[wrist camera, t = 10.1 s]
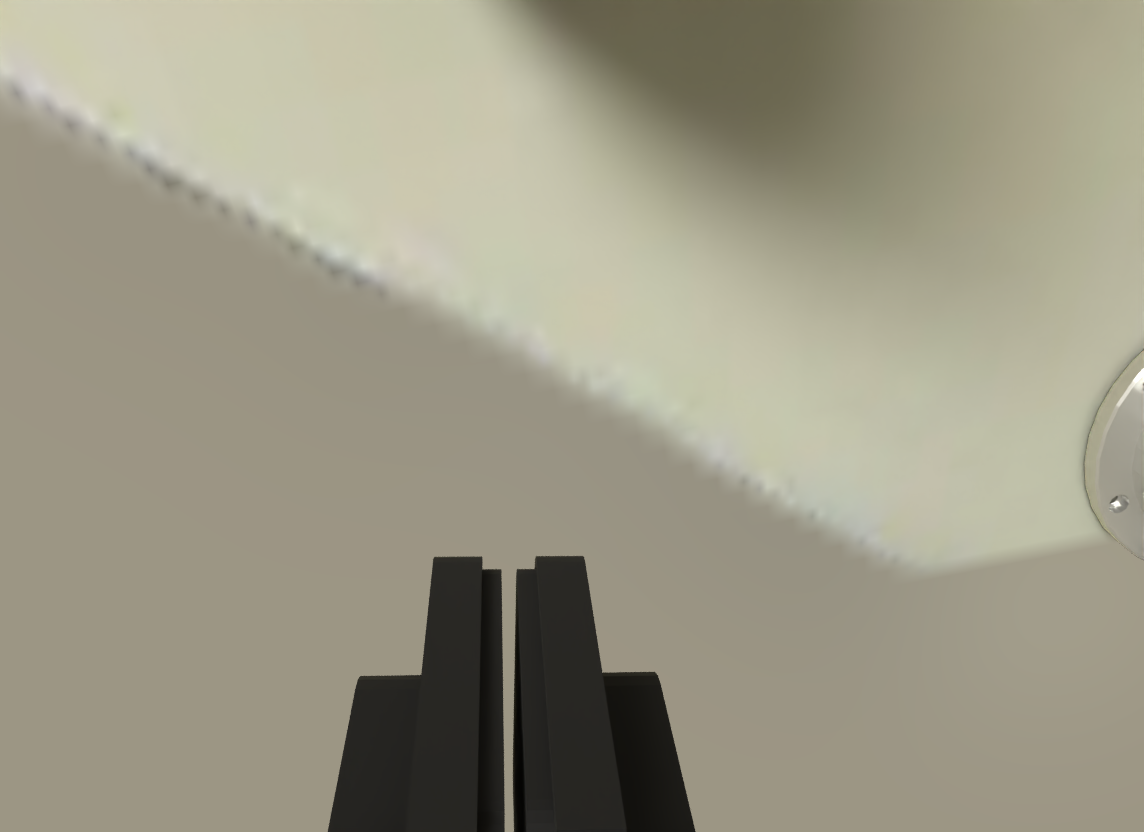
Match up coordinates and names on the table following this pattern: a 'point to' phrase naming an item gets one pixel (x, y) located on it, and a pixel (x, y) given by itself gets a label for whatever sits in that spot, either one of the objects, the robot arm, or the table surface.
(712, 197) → the table surface
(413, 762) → the robot arm
